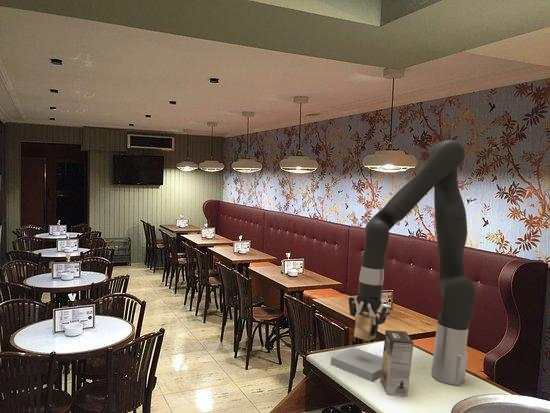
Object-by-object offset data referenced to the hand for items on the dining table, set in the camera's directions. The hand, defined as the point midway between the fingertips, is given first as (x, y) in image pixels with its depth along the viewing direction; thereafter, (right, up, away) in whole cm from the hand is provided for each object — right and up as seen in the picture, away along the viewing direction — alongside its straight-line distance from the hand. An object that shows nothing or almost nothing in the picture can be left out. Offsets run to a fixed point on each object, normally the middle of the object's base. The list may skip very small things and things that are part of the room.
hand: (365, 332), depth 144 cm
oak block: (0, -2, 0) cm, 1 cm away
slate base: (-1, -11, +1) cm, 11 cm away
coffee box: (+6, -13, -13) cm, 19 cm away
